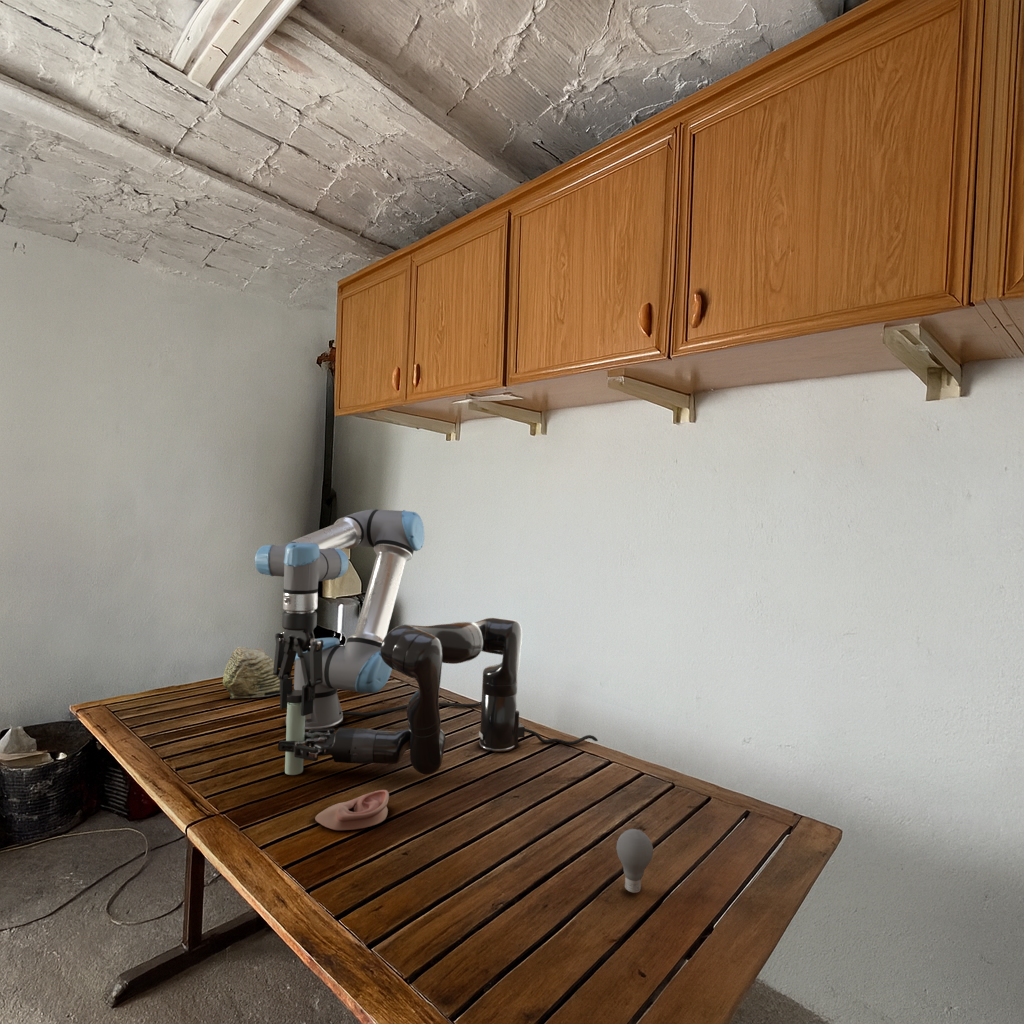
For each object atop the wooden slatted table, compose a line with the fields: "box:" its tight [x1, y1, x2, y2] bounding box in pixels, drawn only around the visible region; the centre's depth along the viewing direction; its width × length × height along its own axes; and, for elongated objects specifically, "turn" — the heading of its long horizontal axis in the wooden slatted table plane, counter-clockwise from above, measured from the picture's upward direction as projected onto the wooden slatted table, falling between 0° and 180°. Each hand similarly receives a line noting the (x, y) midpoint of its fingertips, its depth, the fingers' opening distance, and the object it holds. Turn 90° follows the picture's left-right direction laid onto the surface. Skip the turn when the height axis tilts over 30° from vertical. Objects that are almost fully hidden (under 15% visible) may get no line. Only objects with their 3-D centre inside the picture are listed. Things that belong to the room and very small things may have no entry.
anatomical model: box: [314, 789, 390, 831], centre depth 126 cm, size 13×4×12 cm
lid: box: [287, 689, 302, 703], centre depth 145 cm, size 4×4×2 cm
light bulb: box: [615, 828, 654, 894], centre depth 106 cm, size 6×6×10 cm
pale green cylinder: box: [284, 702, 305, 776], centre depth 145 cm, size 4×4×17 cm
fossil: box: [222, 646, 280, 699], centre depth 198 cm, size 9×18×15 cm, turn 132°
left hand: (296, 710), depth 145 cm, fingers open, 6 cm apart
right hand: (283, 741), depth 145 cm, fingers closed on pale green cylinder, 4 cm apart
